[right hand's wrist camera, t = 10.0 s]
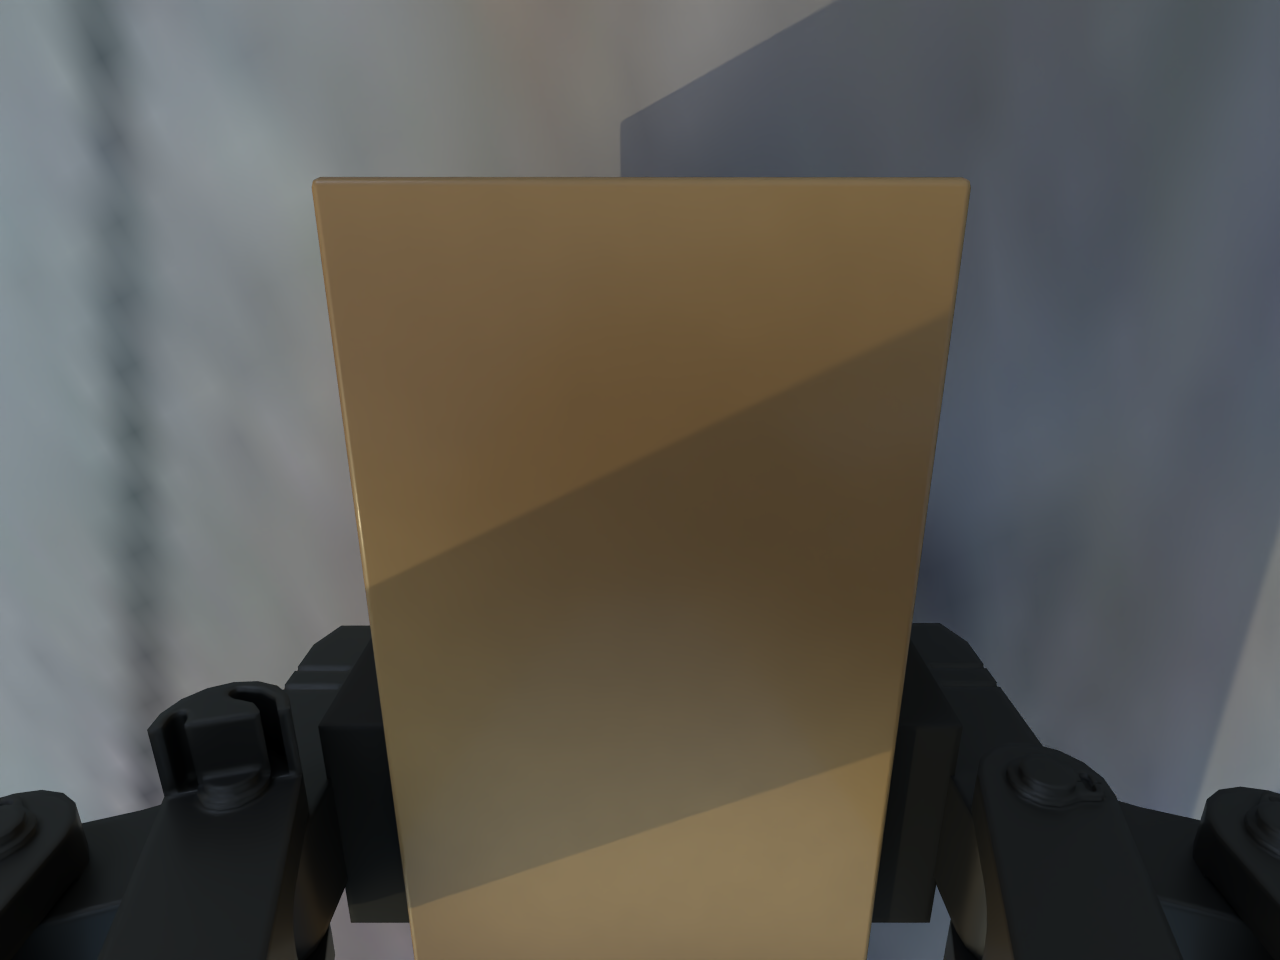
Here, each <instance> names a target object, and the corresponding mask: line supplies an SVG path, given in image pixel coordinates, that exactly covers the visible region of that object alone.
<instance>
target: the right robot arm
mask: <svg viewBox="0 0 1280 960" xmlns="http://www.w3.org/2000/svg"><path fill="white" fill-rule="evenodd" d="M147 731H148V735H149V739H150V742H151V746H152V750H153V754H154V758H155V762H156V766H157V769H158V773H159V777H160V781H161V785H162V789H163V793H164V796H165V797H164V799H163V801H162V804H161V805H158V806H155V807H151V808H148V809H144V810H141V811H136V812H132V813H127V814H123V815H118V816H113V817H109V818H104V819H100V820H95V821H91V822H86V823H81V820H80V817H79V814H78V810H77V807H76V804H75V802H74V801H72V800H71V799H70V798H69V797H67V796H66V795H65V794H64V793H59V792H52V791H46V790H38V791H31V792H23V793H16V794H12V795H9V796H5V797H1V798H0V960H334V959H335V951H334V944H333V937H332V932H331V926H330V922H331V919H332V917H333V914H334V912H335V910H336V907H337V905H338V903H339V900H340V898H341V896H342V893H343V891H344V888H345V889H346V895H347V901H348V907H349V913H350V919H351V923H410V921H409V913H408V906H407V898H406V891H405V883H404V876H403V868H402V861H401V853H400V846H399V838H398V831H397V823H396V816H395V808H394V801H393V793H392V786H391V778H390V771H389V763H388V756H387V748H386V741H385V733H384V726H383V718H382V711H381V703H380V696H379V688H378V681H377V673H376V666H375V658H374V651H373V643H372V636H371V628H370V626H340V627H339V628H337V629H336V630H334V631H333V632H332V633H330V634H329V635H327V636H326V637H324V638H323V639H321V640H320V641H318V642H317V643H316V644H314V645H313V647H312V648H311V649H310V651H309V652H308V653H307V655H306V656H305V658H304V659H303V660H302V662H301V663H300V665H299V666H298V671H295V672H294V673H293V674H292V676H291V677H290V678H289V680H288V681H287V683H286V684H285V689H284V690H282V689H281V688H279V687H278V686H276V685H272V684H268V683H263V682H259V681H253V682H233V683H228V684H224V685H220V686H215V687H211V688H207V689H205V690H202V691H200V692H198V693H195V694H193V695H191V696H188V697H186V698H183V699H181V700H180V701H178V702H177V703H175V704H174V705H172V706H171V707H170V708H168V709H167V710H165V711H164V712H162V713H161V714H160V715H159V716H158V717H157V719H156V720H155V721H154V722H153V723H152V725H151V726H150V727H149V728H148V730H147ZM936 885H937V887H938V890H939V892H940V894H941V897H942V899H943V901H944V904H945V906H946V908H947V911H948V913H949V915H950V918H951V921H950V926H949V932H948V937H947V943H946V948H945V954H944V959H943V960H1280V794H1278V793H1275V792H1271V791H1268V790H1261V789H1253V788H1246V787H1235V788H1228V789H1221V790H1218V791H1217V792H1216V793H1214V794H1213V795H1212V796H1211V797H1209V798H1208V799H1207V801H1206V804H1205V807H1204V811H1203V814H1202V817H1201V820H1196V819H1192V818H1187V817H1182V816H1178V815H1173V814H1169V813H1164V812H1160V811H1155V810H1151V809H1146V808H1142V807H1138V806H1134V805H1131V804H1127V803H1124V802H1120V801H1118V800H1117V798H1116V795H1115V794H1114V793H1113V791H1112V790H1111V788H1110V787H1109V785H1108V784H1107V783H1106V781H1105V780H1104V778H1103V777H1101V776H1100V775H1099V774H1097V773H1096V772H1095V771H1094V770H1092V769H1091V768H1090V767H1089V766H1087V765H1086V764H1085V763H1083V762H1081V761H1079V760H1077V759H1075V758H1073V757H1071V756H1069V755H1067V754H1065V753H1063V752H1061V751H1058V750H1055V749H1051V748H1047V747H1043V746H1042V744H1041V743H1040V742H1039V740H1038V739H1037V737H1036V736H1035V735H1034V733H1033V732H1032V731H1031V729H1030V728H1029V726H1028V725H1027V724H1026V722H1025V721H1024V719H1023V718H1022V717H1021V715H1020V714H1019V713H1018V711H1017V710H1016V708H1015V707H1014V706H1013V704H1012V703H1011V702H1010V700H1009V699H1008V697H1007V696H1006V695H1005V693H1004V692H1003V690H1002V689H1001V688H1000V687H997V682H996V681H995V679H994V678H993V677H992V675H991V674H990V673H989V671H988V670H987V668H984V667H983V663H982V661H981V660H980V659H979V657H978V656H977V655H976V653H975V652H974V650H973V649H972V648H971V646H970V645H969V644H968V642H967V641H965V640H964V639H962V638H961V637H959V636H958V635H956V634H955V633H953V632H952V631H950V630H949V629H947V628H946V627H945V626H943V625H942V624H940V623H912V627H911V634H910V642H909V649H908V656H907V664H906V671H905V679H904V686H903V693H902V701H901V708H900V716H899V723H898V731H897V738H896V745H895V753H894V760H893V768H892V775H891V782H890V790H889V797H888V805H887V812H886V819H885V827H884V834H883V842H882V849H881V856H880V864H879V871H878V879H877V886H876V893H875V901H874V908H873V916H872V922H887V923H930V918H931V912H932V906H933V900H934V894H935V888H936Z"/></svg>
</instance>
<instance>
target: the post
mask: <svg viewBox="0 0 1280 960" xmlns="http://www.w3.org/2000/svg"><path fill="white" fill-rule="evenodd" d="M970 190H971V186H970V181H969V180H967V179H965V178H963V177H319V178H317V179H315V180H313V184H312V193H313V200H314V208H315V215H316V223H317V230H318V238H319V245H320V253H321V260H322V268H323V275H324V283H325V290H326V298H327V305H328V313H329V320H330V328H331V336H332V343H333V351H334V358H335V366H336V373H337V381H338V388H339V396H340V403H341V411H342V418H343V426H344V433H345V441H346V448H347V456H348V463H349V471H350V478H351V486H352V493H353V501H354V508H355V516H356V523H357V531H358V538H359V546H360V553H361V561H362V568H363V576H364V583H365V591H366V598H367V606H368V613H369V621H370V628H371V636H372V643H373V651H374V658H375V666H376V673H377V681H378V688H379V696H380V703H381V711H382V718H383V726H384V733H385V741H386V748H387V756H388V763H389V771H390V778H391V786H392V793H393V801H394V808H395V816H396V823H397V831H398V838H399V846H400V853H401V861H402V868H403V876H404V883H405V891H406V898H407V906H408V913H409V921H410V928H411V936H412V943H413V951H414V958H415V960H867V953H868V945H869V938H870V930H871V923H872V916H873V908H874V901H875V893H876V886H877V879H878V871H879V864H880V856H881V849H882V842H883V834H884V827H885V819H886V812H887V805H888V797H889V790H890V782H891V775H892V768H893V760H894V753H895V745H896V738H897V731H898V723H899V716H900V708H901V701H902V693H903V686H904V679H905V671H906V664H907V656H908V649H909V642H910V634H911V627H912V619H913V612H914V605H915V597H916V590H917V582H918V575H919V568H920V560H921V553H922V545H923V538H924V531H925V523H926V516H927V508H928V501H929V494H930V486H931V479H932V471H933V464H934V457H935V449H936V442H937V434H938V427H939V420H940V412H941V405H942V397H943V390H944V383H945V375H946V368H947V360H948V353H949V345H950V338H951V331H952V323H953V316H954V308H955V301H956V294H957V286H958V279H959V271H960V264H961V257H962V249H963V242H964V234H965V227H966V220H967V212H968V205H969V197H970Z"/></svg>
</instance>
